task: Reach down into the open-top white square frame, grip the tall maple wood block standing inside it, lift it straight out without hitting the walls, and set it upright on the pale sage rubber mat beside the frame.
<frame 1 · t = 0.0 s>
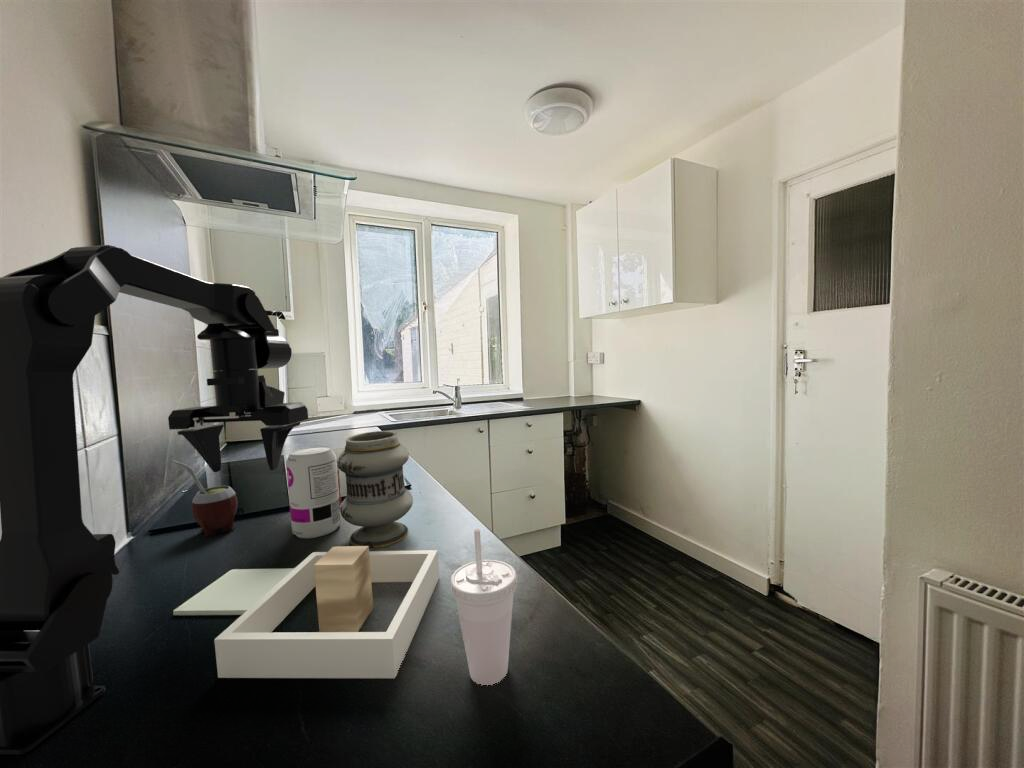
hand: (245, 470, 64), 15 cm above the worktop, tool pointing down, fingers open, 9 cm apart
sage mat: (240, 592, 57), on the worktop
maple block: (344, 587, 49), in the white square frame
soda can: (324, 511, 87), on the worktop
supplement can: (317, 531, 76), on the worktop
apothecary jar: (379, 537, 73), on the worktop
smoothie: (488, 672, 40), on the worktop
white square frame: (347, 619, 49), on the worktop
mate gourd: (215, 533, 78), on the worktop
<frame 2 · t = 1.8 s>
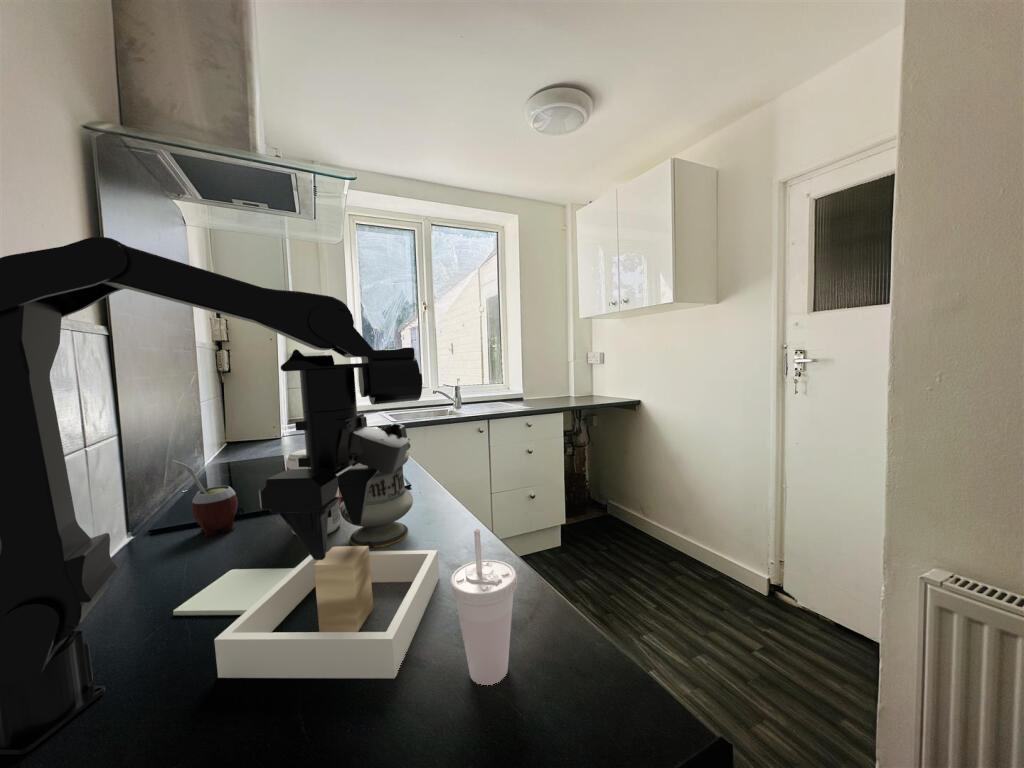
hand: (340, 540, 49), 10 cm above the worktop, tool pointing down, fingers open, 9 cm apart
nothing on the worktop moved.
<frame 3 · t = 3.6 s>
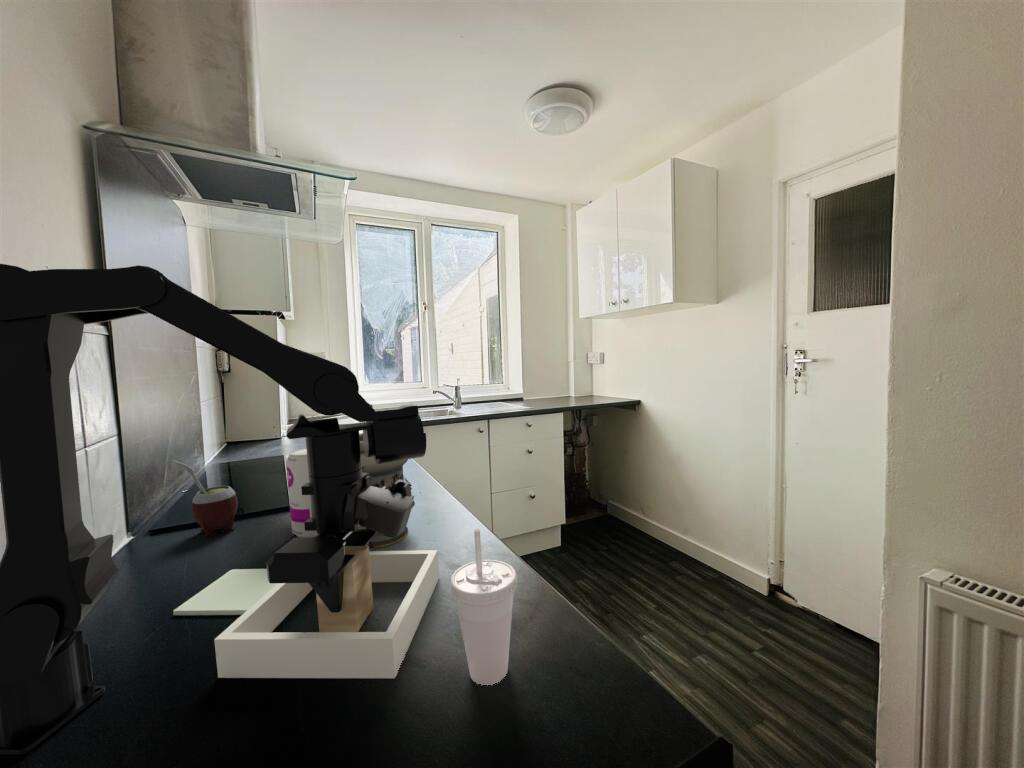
hand: (345, 599, 49), 3 cm above the worktop, tool pointing down, fingers closed on maple block, 4 cm apart
maple block: (345, 587, 49), in the white square frame, touching gripper
everything else where it was.
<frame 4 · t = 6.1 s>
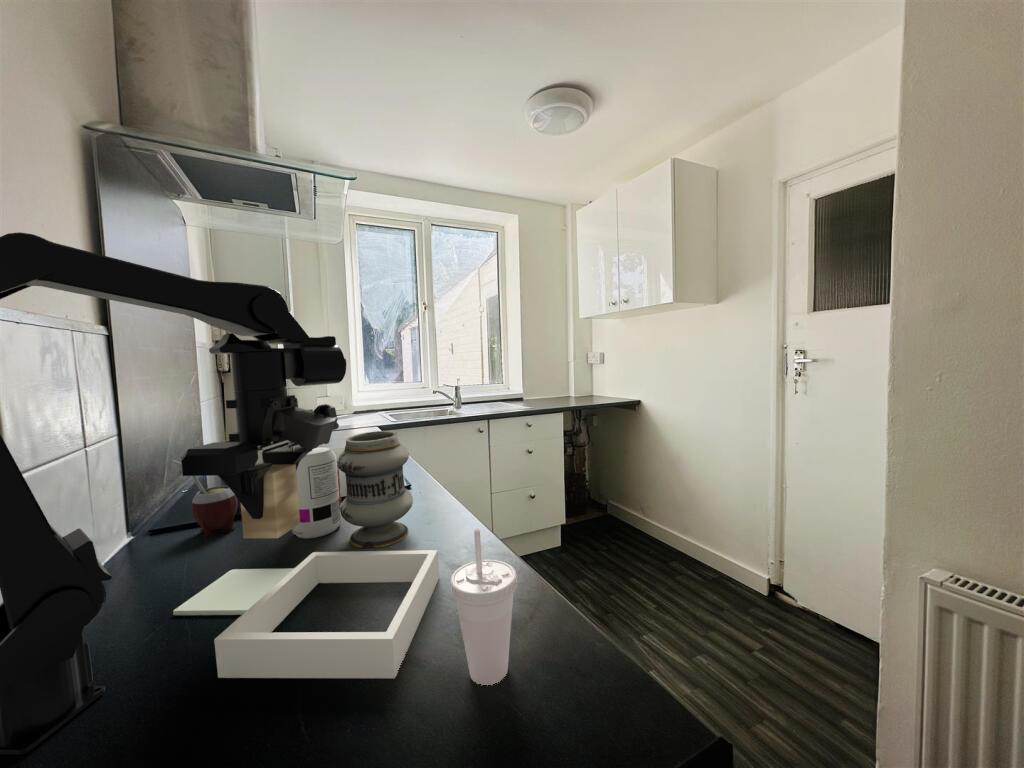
hand: (270, 511, 53), 12 cm above the worktop, tool pointing down, fingers closed on maple block, 4 cm apart
maple block: (270, 500, 53), point 14 cm above the worktop, touching gripper
everything else where it was.
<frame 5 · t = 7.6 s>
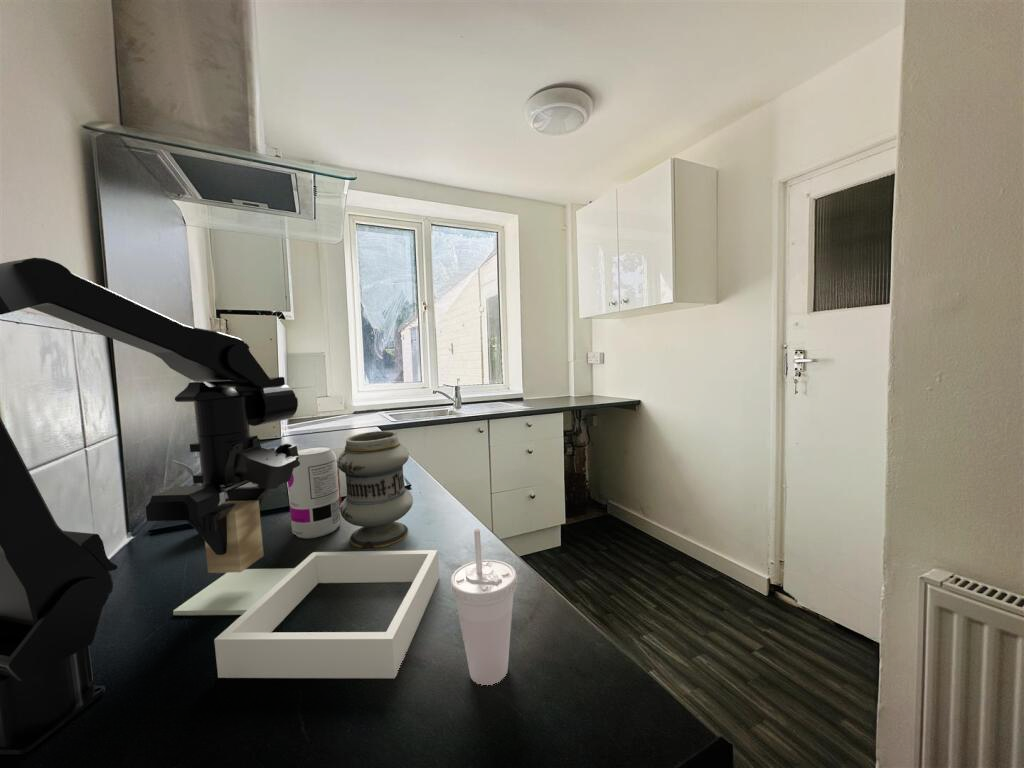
hand: (234, 545, 56), 7 cm above the worktop, tool pointing down, fingers closed on maple block, 4 cm apart
maple block: (234, 535, 56), point 8 cm above the worktop, touching gripper
everything else where it was.
when the fingers open (4 cm above the worktop, at t = 8.8 s): maple block drops 1 cm, resting on sage mat.
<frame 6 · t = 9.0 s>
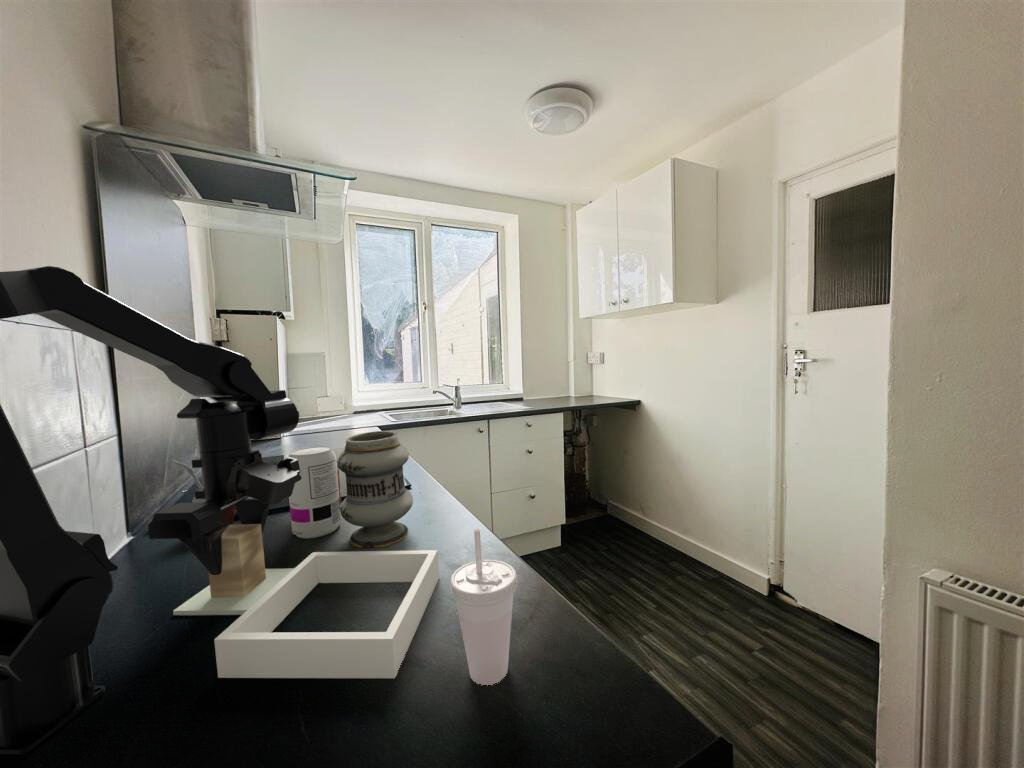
hand: (236, 560, 56), 4 cm above the worktop, tool pointing down, fingers open, 7 cm apart
maple block: (236, 559, 56), on the sage mat, point 5 cm above the worktop
everything else where it was.
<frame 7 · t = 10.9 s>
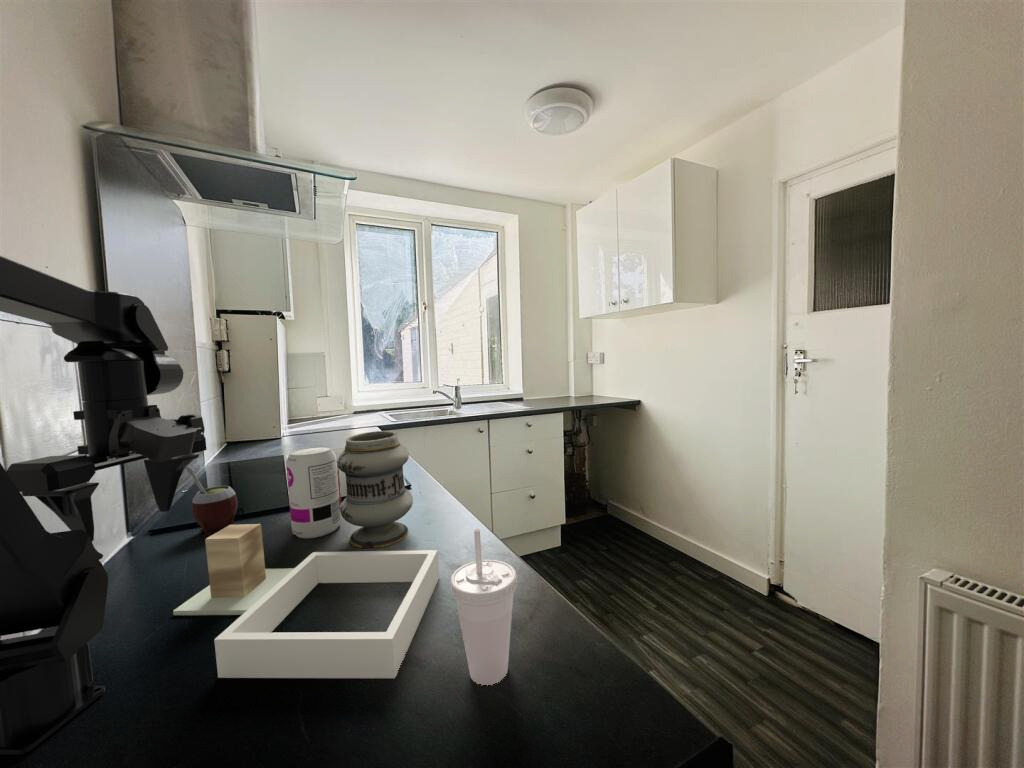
hand: (129, 525, 51), 12 cm above the worktop, tool pointing down, fingers open, 9 cm apart
nothing on the worktop moved.
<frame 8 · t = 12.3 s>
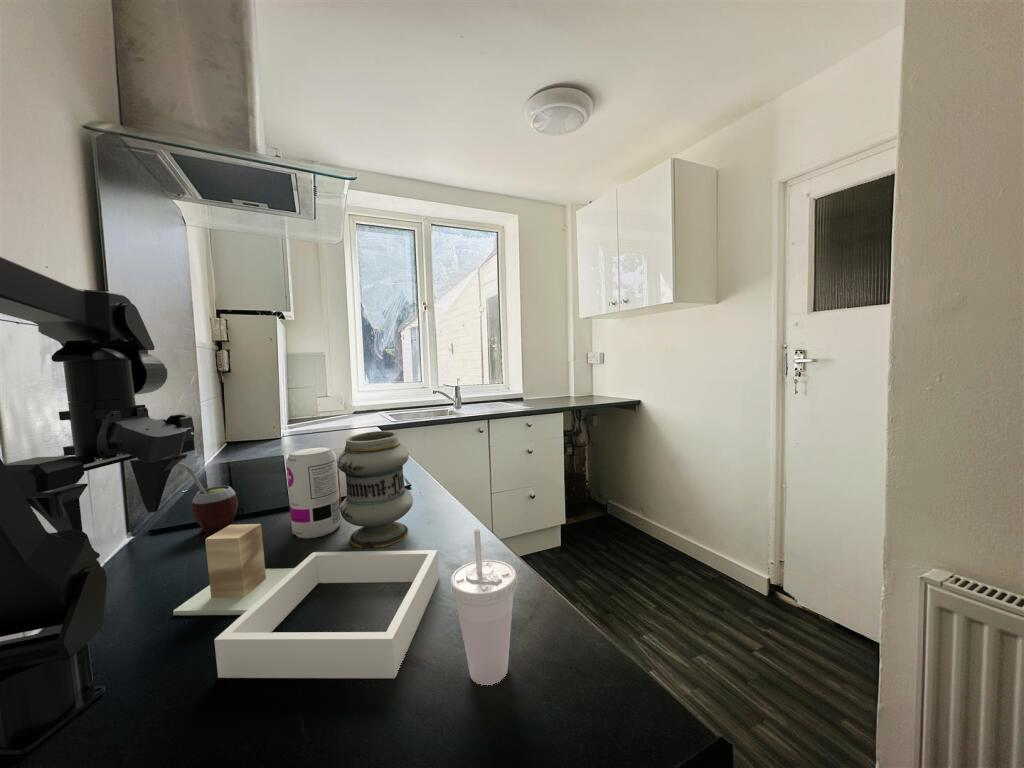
hand: (117, 526, 50), 12 cm above the worktop, tool pointing down, fingers open, 9 cm apart
nothing on the worktop moved.
at the end: maple block inside the target area on the sage mat (0.0 cm from its centre), point 4.6 cm above the sage mat's base; maple block tilted 0°; the gripper is holding nothing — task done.
